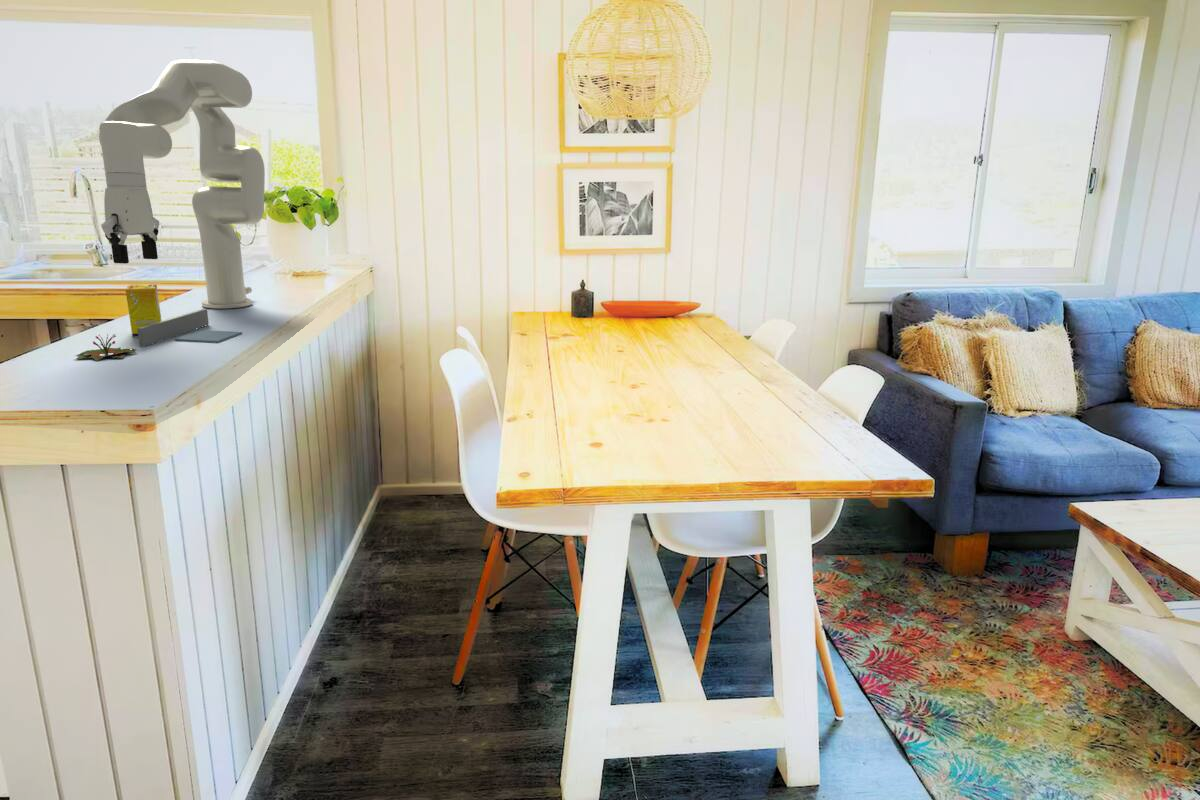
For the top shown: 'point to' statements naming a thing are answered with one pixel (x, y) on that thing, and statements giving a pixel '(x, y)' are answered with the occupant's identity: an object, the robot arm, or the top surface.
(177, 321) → the low wall
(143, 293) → the supplement box
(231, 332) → the rubber mat
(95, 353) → the lily flower
